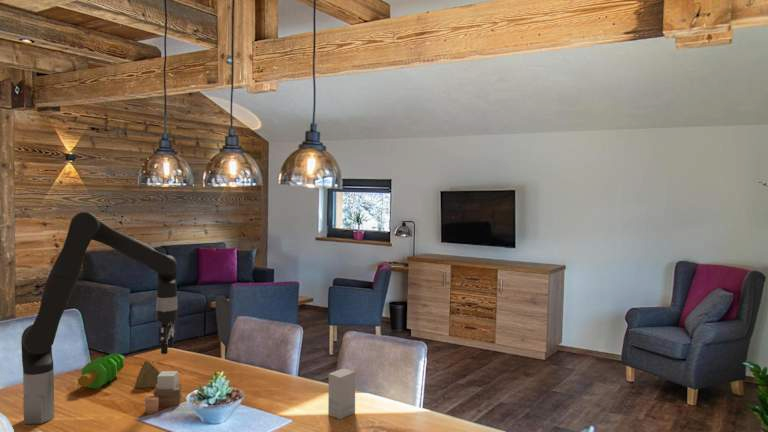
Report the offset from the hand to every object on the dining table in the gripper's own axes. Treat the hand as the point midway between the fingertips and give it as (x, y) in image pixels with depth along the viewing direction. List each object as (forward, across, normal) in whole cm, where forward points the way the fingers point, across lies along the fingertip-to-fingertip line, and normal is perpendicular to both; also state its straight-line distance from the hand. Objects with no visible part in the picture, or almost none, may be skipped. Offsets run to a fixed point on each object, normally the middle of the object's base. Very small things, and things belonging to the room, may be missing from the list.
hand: (167, 350), depth 228 cm
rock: (+20, -18, -11) cm, 30 cm away
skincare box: (+20, +17, +66) cm, 71 cm away
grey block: (+14, 0, 0) cm, 14 cm away
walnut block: (+20, 0, 0) cm, 20 cm away
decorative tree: (+20, -26, -31) cm, 45 cm away
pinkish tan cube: (+20, +10, -3) cm, 22 cm away
